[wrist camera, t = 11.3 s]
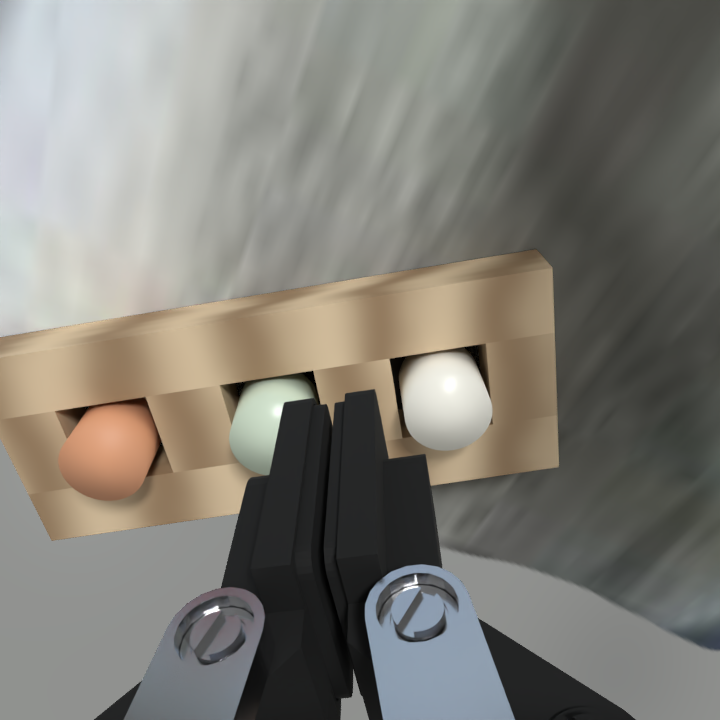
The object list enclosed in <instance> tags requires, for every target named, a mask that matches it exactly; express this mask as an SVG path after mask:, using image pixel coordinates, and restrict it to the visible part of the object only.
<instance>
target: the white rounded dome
mask: <svg viewBox="0 0 720 720" xmlns="http://www.w3.org/2000/svg"><path fill="white" fill-rule="evenodd" d="M399 385H400V391H401V398H402V404H403V411H404V417H405V423H406V426H407V429H408V431H409V433H410V434H411V436H412V437H413V438H414V439H415V440H416V441H417V442H419V443H420V444H422V445H424V446H425V447H428V448H431V449H434V450H441V451H450V450H456V449H460V448H463V447H466V446H468V445H470V444H472V443H473V442H475V441H476V440H477V439H479V438H480V437H481V436H482V435H483V434H484V432H485V431H486V429H487V428H488V426H489V424H490V421H491V418H492V403H491V400H490V397H489V394H488V392H487V389H486V387H485V384H484V382H483V379H482V377H481V374H480V372H479V369H478V366H477V364H476V361H475V359H474V358H473V356H472V355H471V353H470V352H469V351H468V350H466V349H465V348H464V347H460V348H454V349H447V350H441V351H435V352H428V353H422V354H416V355H409V356H407V357H406V358H405V360H404V361H403V363H402V365H401V368H400V372H399Z"/></svg>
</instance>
